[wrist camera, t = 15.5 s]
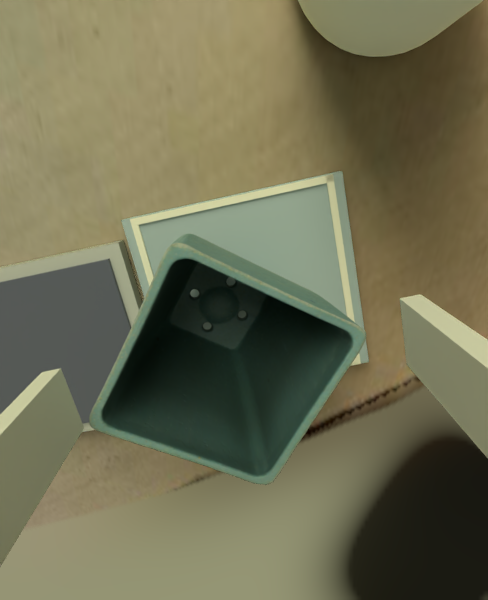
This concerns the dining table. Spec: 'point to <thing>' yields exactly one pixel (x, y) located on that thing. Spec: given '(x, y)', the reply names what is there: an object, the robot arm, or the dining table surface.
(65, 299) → the ink pad
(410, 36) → the wine bottle
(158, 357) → the flower pot
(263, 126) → the dining table surface
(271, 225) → the board
